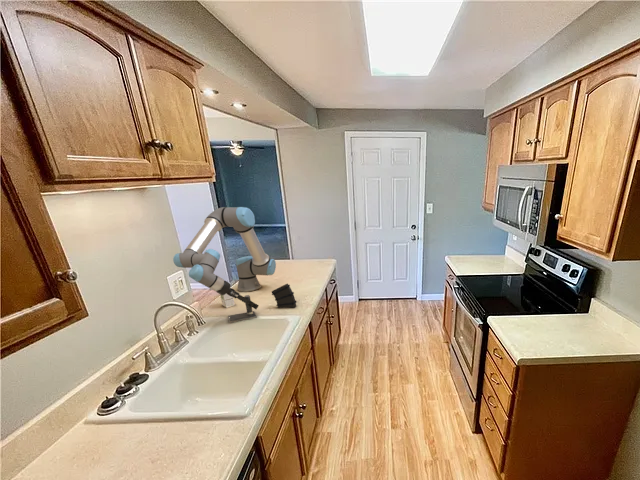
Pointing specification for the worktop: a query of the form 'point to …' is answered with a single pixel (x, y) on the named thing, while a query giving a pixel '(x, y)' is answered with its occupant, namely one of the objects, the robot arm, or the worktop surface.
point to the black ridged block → (284, 297)
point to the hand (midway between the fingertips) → (255, 306)
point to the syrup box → (227, 300)
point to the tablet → (241, 317)
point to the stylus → (248, 308)
